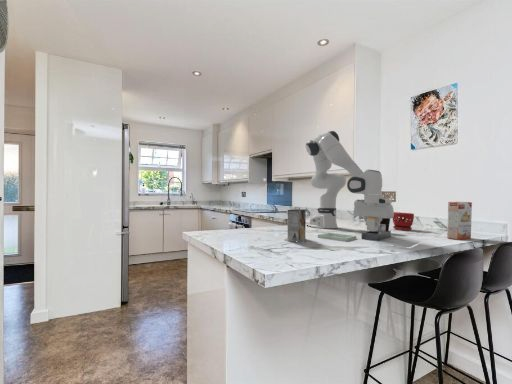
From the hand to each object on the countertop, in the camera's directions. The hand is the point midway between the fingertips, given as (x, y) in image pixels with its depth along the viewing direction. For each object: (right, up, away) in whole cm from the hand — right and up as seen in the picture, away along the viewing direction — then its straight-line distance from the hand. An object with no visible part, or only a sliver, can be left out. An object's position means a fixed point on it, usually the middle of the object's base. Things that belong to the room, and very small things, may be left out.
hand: (372, 225), depth 146 cm
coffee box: (-41, -7, -5) cm, 42 cm away
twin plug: (+7, -7, +7) cm, 13 cm away
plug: (0, -2, 0) cm, 2 cm away
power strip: (+4, -8, +4) cm, 9 cm away
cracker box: (+53, -9, +9) cm, 55 cm away
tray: (-19, -7, +1) cm, 20 cm away
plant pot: (+40, -9, +45) cm, 61 cm away
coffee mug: (+16, -8, +25) cm, 31 cm away
